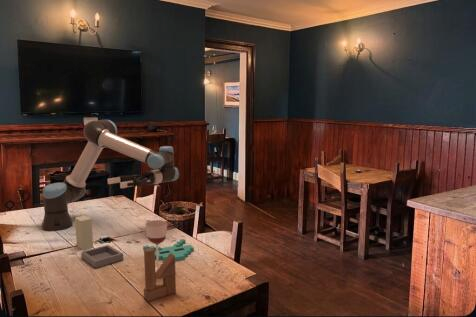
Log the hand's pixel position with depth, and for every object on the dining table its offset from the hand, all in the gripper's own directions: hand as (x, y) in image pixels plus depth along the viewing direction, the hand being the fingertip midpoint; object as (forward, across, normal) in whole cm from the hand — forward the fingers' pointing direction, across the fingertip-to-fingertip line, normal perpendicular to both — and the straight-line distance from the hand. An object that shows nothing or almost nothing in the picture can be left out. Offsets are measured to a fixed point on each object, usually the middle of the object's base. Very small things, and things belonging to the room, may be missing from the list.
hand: (113, 183), depth 190 cm
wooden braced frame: (+16, -65, -29) cm, 73 cm away
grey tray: (+17, -20, -28) cm, 39 cm away
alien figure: (-9, -35, -29) cm, 46 cm away
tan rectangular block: (+16, 0, -28) cm, 32 cm away
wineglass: (+6, -47, -28) cm, 55 cm away
